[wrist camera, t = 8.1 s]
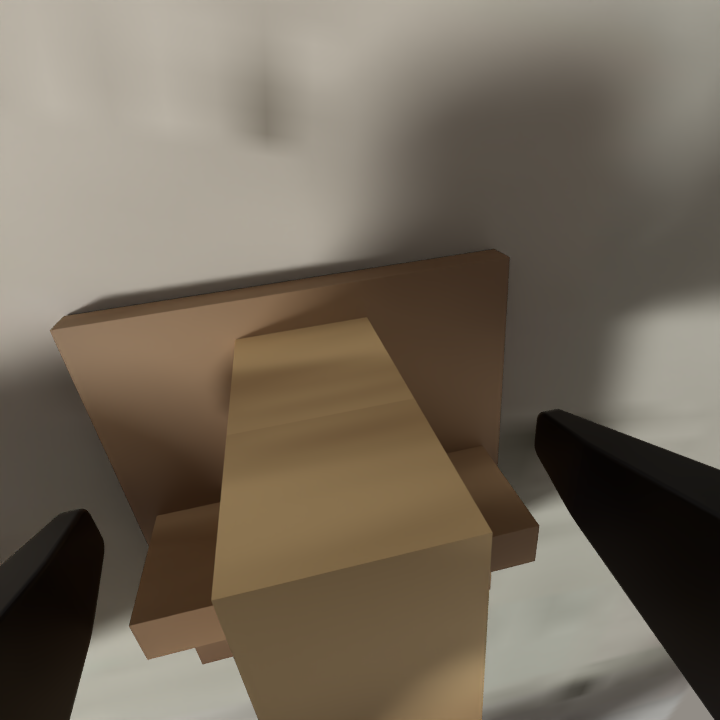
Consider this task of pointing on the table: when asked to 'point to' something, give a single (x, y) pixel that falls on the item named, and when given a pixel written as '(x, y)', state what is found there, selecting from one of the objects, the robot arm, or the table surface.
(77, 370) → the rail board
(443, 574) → the tan notched block
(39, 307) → the table surface
